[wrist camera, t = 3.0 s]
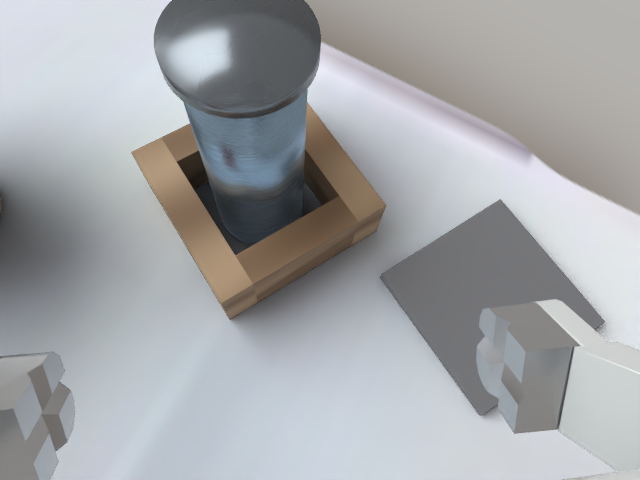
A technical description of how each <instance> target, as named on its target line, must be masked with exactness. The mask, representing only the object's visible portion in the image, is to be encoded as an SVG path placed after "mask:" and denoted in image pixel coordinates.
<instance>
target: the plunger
mask: <svg viewBox="0 0 640 480" xmlns="http://www.w3.org/2000/svg"><path fill="white" fill-rule="evenodd" d="M320 46H321V34H320V28H319V24H318V21H317V19H316V17H315V15H314V13H313V11H312V10H311V8H310V7H309V5H308V4H307V3H306V2H305V1H304V0H172V1H171V2H170V3H169V4H168V5H167V6H166V8H165V9H164V10H163V12H162V14H161V15H160V17H159V19H158V22H157V25H156V27H155V33H154V49H155V54H156V57H157V59H158V62H159V65H160V68H161V71H162V74H163V76H164V79H165V80H166V82H167V84H168V86H169V87H170V88H171V90H172V91H173V92H174V93H175V94H176V95H177V96H178V97H179V98H180V99H181V100H182V101H183V102H184V105H185V108H186V111H187V114H188V118H189V121H190V124H191V127H192V130H193V133H194V136H195V139H196V142H197V146H198V149H199V152H200V155H201V158H202V161H203V164H204V167H205V170H206V174H207V177H208V180H209V183H210V186H211V189H212V192H213V195H214V198H215V202H216V205H217V208H218V211H219V214H220V217H221V220H222V223H223V225H224V226H225V228H226V229H227V231H228V232H229V233H230V234H231V235H232V236H234V237H235V238H236V239H238V240H240V241H242V242H244V243H247V244H251V245H254V244H256V243H258V242H259V241H261V240H263V239H265V238H266V237H268V236H270V235H272V234H273V233H275V232H277V231H279V230H280V229H282V228H284V227H286V226H287V225H289V224H291V223H293V222H294V221H296V220H298V219H300V218H301V216H302V210H303V186H304V161H305V137H306V112H307V88H308V87H309V86H310V84H311V83H312V81H313V79H314V77H315V75H316V72H317V70H318V66H319V60H320Z"/></svg>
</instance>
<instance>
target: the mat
mask: <svg viewBox="0 0 640 480" xmlns="http://www.w3.org/2000/svg"><path fill="white" fill-rule="evenodd" d="M380 278H381V279H382V281H383V282H384V283H385V285H386V286H387V288H388V289H389V290H390V292H391V293H392V295H393V296H394V297H395V299H396V300H397V302H398V303H399V304H400V306H401V307H402V308H403V310H404V311H405V313H406V314H407V315H408V317H409V318H410V320H411V321H412V322H413V324H414V325H415V326H416V328H417V329H418V331H419V332H420V333H421V335H422V336H423V338H424V339H425V340H426V342H427V343H428V344H429V346H430V347H431V349H432V350H433V351H434V353H435V354H436V356H437V357H438V358H439V360H440V361H441V363H442V364H443V365H444V367H445V368H446V369H447V371H448V372H449V374H450V375H451V376H452V378H453V379H454V381H455V382H456V383H457V385H458V386H459V387H460V389H461V390H462V392H463V393H464V394H465V396H466V397H467V399H468V400H469V401H470V403H471V404H472V406H473V407H474V408H475V410H476V411H477V412H478V414H479V415H484V414H485V413H486V412H488V411H489V410H490V409H492V408H493V407H494V406H496V405H497V404H498V402H499V398H497V397H495V396H494V395H492V394H490V393H488V392H487V390H486V389H485V387H484V385H483V384H482V382H481V379H480V376H479V374H478V368H477V362H476V355H477V345H478V344H479V343H480V342H481V340H482V339H483V338H484V337H485V335H484V333H483V332H482V331H481V329H480V328H479V321H480V315H481V313H482V310H483V309H485V308H493V307H501V306H509V305H517V304H525V303H531V302H538V301H545V300H552V299H557V300H560V301H562V302H563V303H565V304H566V305H567V306H568V307H569V308H570V309H571V310H572V311H574V312H575V313H576V314H577V315H578V316H579V317H580V318H582V319H583V320H584V321H585V322H586V323H587V324H588V325H589V326H591V327H592V328H593V329H594V330H595V329H596V328H598V327H599V326H600V325H602V324H603V323H604V322H605V321H604V320H603V319H602V318H601V316H600V315H599V314H598V313H597V312H596V311H595V309H594V308H593V307H592V306H591V305H590V304H589V302H588V301H587V300H586V299H585V298H584V297H583V295H582V294H581V293H580V292H579V291H578V290H577V288H576V287H575V286H574V285H573V284H572V283H571V281H570V280H569V279H568V278H567V277H566V276H565V274H564V273H563V272H562V271H561V270H560V268H559V267H558V266H557V265H556V264H555V263H554V261H553V260H552V259H551V258H550V257H549V256H548V254H547V253H546V252H545V251H544V250H543V249H542V247H541V246H540V245H539V244H538V243H537V242H536V240H535V239H534V238H533V237H532V236H531V235H530V233H529V232H528V231H527V230H526V229H525V228H524V226H523V225H522V224H521V223H520V222H519V220H518V219H517V218H516V217H515V216H514V215H513V213H512V212H511V211H510V210H509V209H508V208H507V206H506V205H505V204H504V203H503V202H502V201H501V199H500V200H498V201H497V202H495V203H494V204H492V205H490V206H489V207H487V208H486V209H484V210H483V211H481V212H479V213H478V214H476V215H475V216H473V217H471V218H470V219H468V220H467V221H465V222H464V223H462V224H460V225H459V226H457V227H456V228H454V229H453V230H451V231H449V232H448V233H446V234H445V235H443V236H441V237H440V238H438V239H437V240H435V241H434V242H432V243H430V244H429V245H427V246H426V247H424V248H422V249H421V250H419V251H418V252H416V253H415V254H413V255H411V256H410V257H408V258H407V259H405V260H403V261H402V262H400V263H399V264H397V265H396V266H394V267H392V268H391V269H389V270H388V271H386V272H385V273H383V274H382V275H381V277H380Z"/></svg>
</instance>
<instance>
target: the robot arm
mask: <svg viewBox="0 0 640 480" xmlns="http://www.w3.org/2000/svg"><path fill="white" fill-rule="evenodd" d="M479 328H480V329H481V331H482V332H483V333H484V335H485V337H484V338H483V339H482V340H481V342H480V343H479V344H478V345H477V355H476V362H477V368H478V374H479V376H480V379H481V382H482V384H483V385H484V387H485V389H486V390H487V392H488V393H490V394H492V395H494V396H495V397H497V398H499V402H498V409H499V411H500V412H501V414H502V416H503V417H504V419H505V420H506V422H507V423H508V425H509V426H510V428H511V429H512V431H513V433H514V434H515V433H525V432H535V431H546V430H556V429H559V432H560V433H562V434H563V435H565V436H566V437H568V438H569V439H571V440H572V441H574V442H575V443H577V444H578V445H580V446H581V447H583V448H584V449H586V450H587V451H589V452H590V453H592V454H593V455H594V456H596V457H597V458H599V459H600V460H602V461H603V462H605V463H606V464H608V465H609V466H611V467H612V468H614V469H615V470H617V471H618V472H614V473H607V474H600V475H593V476H585V477H578V478H571V479H563V480H640V350H637V349H634V348H631V347H629V346H626V345H623V344H620V343H618V342H615V343H609V342H608V341H606V340H605V339H604V338H603V337H602V336H601V335H600V334H598V333H597V332H596V331H595V330H594V329H593V328H592V327H591V326H589V325H588V324H587V323H586V322H585V321H584V320H583V319H582V318H580V317H579V316H578V315H577V314H576V313H575V312H574V311H572V310H571V309H570V308H569V307H568V306H567V305H566V304H565V303H563V302H562V301H560V300H557V299H552V300H545V301H538V302H531V303H525V304H517V305H509V306H501V307H493V308H485V309H483V310H482V313H481V315H480V321H479ZM64 372H65V369H64V366H63V363H62V361H61V358H60V356H59V355H58V354H56V353H55V352H45V353H33V354H21V355H9V356H0V480H50V479H51V477H52V475H53V473H54V470H55V468H56V466H57V464H58V458H57V455H56V451H57V450H58V449H59V448H61V447H62V446H63V445H64V444H66V443H67V442H68V439H69V437H70V435H71V432H72V430H73V424H74V417H75V407H74V400H73V396H72V392H71V390H70V389H69V388H67V387H66V386H65V385H63V384H62V383H61V382H60V379H61V377H62V375H63V374H64Z"/></svg>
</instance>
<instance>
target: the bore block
mask: <svg viewBox="0 0 640 480" xmlns="http://www.w3.org/2000/svg"><path fill="white" fill-rule="evenodd" d="M131 153H132V155H133V157H134V158H135V160H136V162H137V164H138V166H139V167H140V169H141V171H142V173H143V175H144V176H145V178H146V180H147V182H148V184H149V185H150V187H151V189H152V190H153V192H154V194H155V195H156V197H157V199H158V200H159V202H160V204H161V205H162V207H163V209H164V210H165V212H166V214H167V215H168V217H169V219H170V220H171V222H172V224H173V226H174V227H175V229H176V231H177V232H178V234H179V236H180V237H181V239H182V241H183V242H184V244H185V246H186V247H187V249H188V251H189V252H190V254H191V256H192V257H193V259H194V261H195V262H196V264H197V266H198V267H199V269H200V271H201V272H202V274H203V276H204V278H205V279H206V281H207V283H208V284H209V286H210V288H211V289H212V291H213V293H214V294H215V296H216V298H217V299H218V301H219V303H220V304H221V306H222V308H223V309H224V311H225V313H226V314H227V316H228V318H229V319H231V318H233V317H235V316H236V315H238V314H240V313H241V312H243V311H245V310H246V309H248V308H249V307H251V306H253V305H254V304H256V303H258V302H259V301H261V300H263V299H264V298H266V297H268V296H269V295H271V294H273V293H274V292H276V291H278V290H279V289H281V288H283V287H284V286H286V285H288V284H289V283H291V282H293V281H294V280H296V279H297V278H299V277H301V276H302V275H304V274H306V273H307V272H309V271H311V270H312V269H314V268H316V267H317V266H319V265H321V264H322V263H324V262H326V261H327V260H329V259H331V258H332V257H334V256H336V255H337V254H339V253H341V252H342V251H344V250H345V249H347V248H349V247H350V246H352V245H354V244H355V243H357V242H359V241H360V240H362V239H364V238H365V237H367V236H369V235H370V234H372V233H374V232H375V231H376V230H377V227H378V225H379V222H380V220H381V217H382V215H383V212H384V209H385V207H386V205H385V203H384V202H383V201H382V200H381V198H380V197H379V196H378V194H377V193H376V192H375V190H374V189H373V188H372V186H371V185H370V184H369V183H368V181H367V180H366V179H365V177H364V176H363V175H362V173H361V172H360V171H359V169H358V168H357V167H356V166H355V164H354V163H353V162H352V160H351V159H350V158H349V156H348V155H347V154H346V152H345V151H344V150H343V149H342V147H341V146H340V145H339V143H338V142H337V141H336V139H335V138H334V137H333V135H332V134H331V133H330V132H329V130H328V129H327V128H326V126H325V125H324V124H323V122H322V121H321V120H320V118H319V117H318V116H317V115H316V113H315V112H314V111H313V109H312V108H311V107H310V105H309V104H308V103H307V112H306V137H305V161H304V180H305V182H306V183H307V185H308V186H309V187H310V189H311V190H312V192H313V193H314V194H315V196H316V197H317V199H318V200H319V201H320V203H321V204H322V206H321V207H319V208H317V209H315V210H314V211H312V212H310V213H308V214H307V215H305V216H303V217H301V218H300V219H298V220H296V221H294V222H293V223H291V224H289V225H287V226H286V227H284V228H282V229H280V230H279V231H277V232H275V233H273V234H272V235H270V236H268V237H266V238H265V239H263V240H261V241H259V242H258V243H256V244H254V245H252V246H251V247H249V248H247V249H245V250H244V251H242V252H240V253H238V254H237V255H235V254H234V253H233V251H232V250H231V248H230V246H229V245H228V243H227V242H226V240H225V238H224V237H223V235H222V234H221V232H220V230H219V229H218V227H217V226H216V224H215V222H214V221H213V219H212V218H211V216H210V215H209V213H208V211H207V210H206V208H205V207H204V205H203V203H202V202H201V200H200V199H199V197H198V195H197V194H196V192H195V191H194V189H195V188H197V187H198V186H200V185H202V184H204V183H206V182H208V181H209V180H208V177H207V174H206V170H205V167H204V164H203V161H202V158H201V155H200V152H199V149H198V146H197V142H196V139H195V136H194V133H193V130H192V127H191V124H188V125H186V126H184V127H182V128H180V129H178V130H176V131H174V132H172V133H170V134H168V135H166V136H163V137H161V138H159V139H157V140H155V141H153V142H151V143H149V144H147V145H145V146H143V147H141V148H139V149H137V150H135V151H133V152H131Z"/></svg>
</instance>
